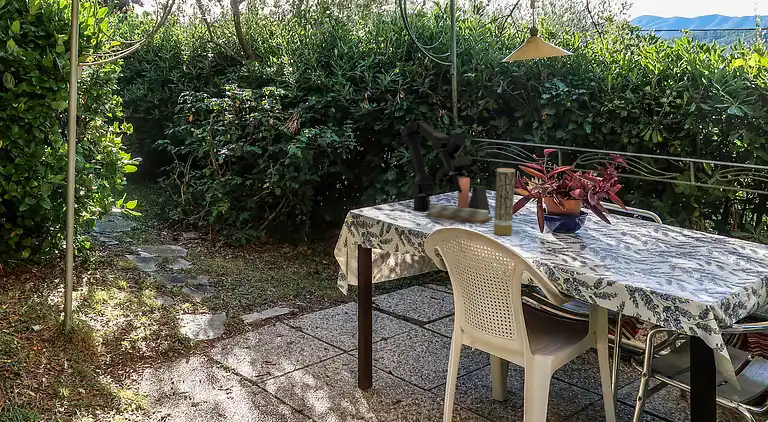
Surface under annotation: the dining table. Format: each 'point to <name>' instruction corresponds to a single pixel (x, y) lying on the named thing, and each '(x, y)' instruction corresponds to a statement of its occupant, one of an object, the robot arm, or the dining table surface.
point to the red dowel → (464, 192)
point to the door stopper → (479, 199)
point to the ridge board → (458, 218)
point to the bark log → (504, 201)
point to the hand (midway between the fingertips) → (465, 191)
